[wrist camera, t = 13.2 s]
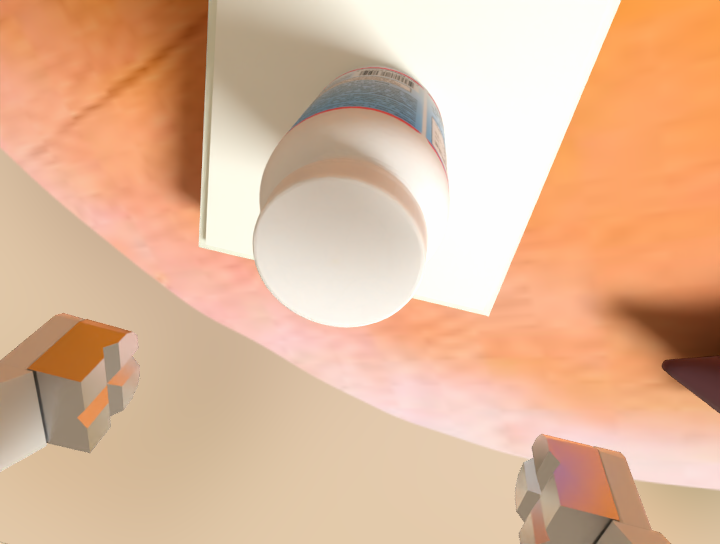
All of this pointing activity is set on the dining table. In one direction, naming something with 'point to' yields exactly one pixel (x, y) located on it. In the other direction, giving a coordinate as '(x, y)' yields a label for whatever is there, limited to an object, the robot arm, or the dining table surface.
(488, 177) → the base block
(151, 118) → the dining table surface
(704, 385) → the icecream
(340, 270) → the pill bottle
